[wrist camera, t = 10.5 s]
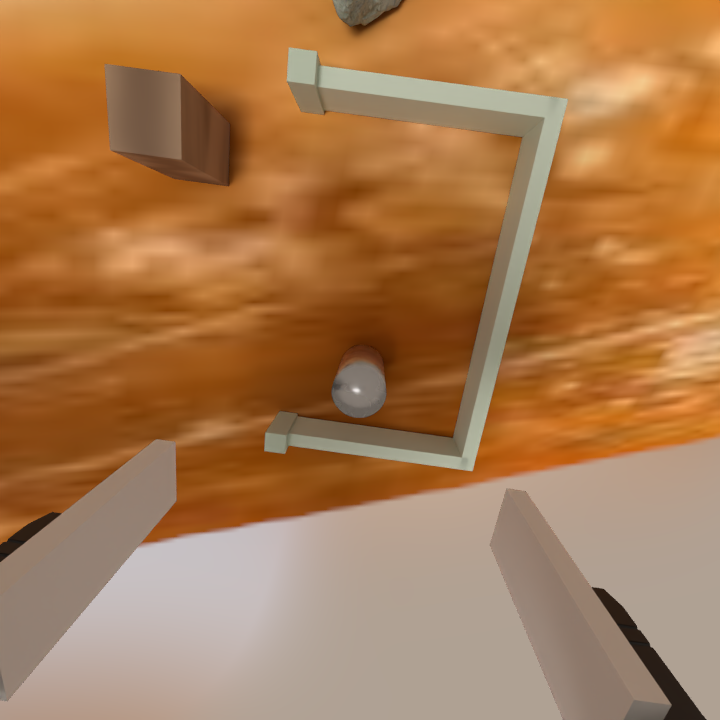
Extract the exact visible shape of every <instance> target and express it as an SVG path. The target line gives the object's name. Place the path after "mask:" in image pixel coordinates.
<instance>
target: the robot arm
mask: <svg viewBox="0 0 720 720" xmlns="http://www.w3.org/2000/svg"><path fill="white" fill-rule="evenodd" d="M175 502H176V444H175V442H173V441H166V440H158V439H156V440H154V441H153V442H152V443H151V444H149V445H148V446H147V447H146V448H144V449H143V450H142V451H141V452H139V453H138V454H137V455H136V456H134V457H133V458H132V459H130V460H129V461H128V462H127V463H125V464H124V465H123V466H122V467H120V468H119V469H118V470H117V471H115V472H114V473H113V474H111V475H110V476H109V477H108V478H106V479H105V480H104V481H103V482H101V483H100V484H99V485H98V486H96V487H95V488H94V489H92V490H91V491H90V492H89V493H87V494H86V495H85V496H84V497H82V498H81V499H80V500H79V501H77V502H76V503H75V504H74V505H72V506H71V507H70V508H68V509H67V510H66V511H65V512H63V513H54V512H51V513H49V514H47V515H45V516H43V517H41V518H39V519H37V520H35V521H33V522H31V523H29V524H27V525H26V526H25V527H23V528H22V529H21V530H19V531H18V532H17V533H15V534H14V535H13V536H11V537H10V538H9V539H8V541H7V542H3V543H2V544H1V545H0V700H2V701H8V700H9V699H10V698H11V696H12V695H13V694H14V693H15V692H16V690H17V689H18V688H19V687H20V686H21V685H22V683H23V682H24V681H25V680H26V679H27V677H28V676H29V675H30V674H31V673H32V672H33V670H34V669H35V668H36V667H37V666H38V664H39V663H40V662H41V661H42V660H43V658H44V657H45V656H46V655H47V654H48V653H49V651H50V650H51V649H52V648H53V647H54V645H55V644H56V643H57V642H58V641H59V639H60V638H61V637H62V636H63V635H64V633H65V632H66V631H67V630H68V629H69V628H70V626H71V625H72V624H73V623H74V622H75V621H76V619H77V618H78V617H79V616H80V614H81V613H82V612H83V611H84V610H85V609H86V607H87V606H88V605H89V604H90V603H91V601H92V600H93V599H94V598H95V597H96V596H97V594H98V593H99V592H100V591H101V590H102V589H103V587H104V586H105V585H106V584H107V583H108V581H109V580H110V579H111V578H112V577H113V576H114V574H115V573H116V572H117V571H118V569H119V568H120V567H121V566H122V565H123V563H124V562H125V561H126V560H127V559H128V558H129V556H130V555H131V554H132V553H133V552H134V551H135V549H136V548H137V547H138V546H139V545H140V543H141V542H142V541H143V540H144V539H145V538H146V536H147V535H148V534H149V533H150V532H151V530H152V529H153V528H154V527H155V526H156V525H157V523H158V522H159V521H160V520H161V519H162V517H163V516H164V515H165V514H166V513H167V511H168V510H169V509H170V508H171V507H172V506H173V504H174V503H175ZM490 547H491V549H492V552H493V554H494V556H495V558H496V561H497V564H498V566H499V568H500V571H501V573H502V575H503V578H504V580H505V582H506V585H507V587H508V589H509V592H510V594H511V597H512V599H513V602H514V604H515V606H516V608H517V611H518V613H519V615H520V618H521V620H522V623H523V625H524V628H525V630H526V633H527V635H528V637H529V640H530V642H531V644H532V647H533V649H534V651H535V654H536V656H537V659H538V661H539V663H540V666H541V668H542V671H543V673H544V675H545V678H546V680H547V682H548V685H549V687H550V690H551V692H552V694H553V697H554V699H555V701H556V704H557V706H558V709H559V711H560V713H561V716H562V718H563V720H706V719H705V717H704V716H703V715H702V714H701V712H700V711H699V710H698V708H697V707H696V706H695V704H694V703H693V701H692V700H691V699H690V697H689V696H688V695H687V693H686V692H685V691H684V689H683V688H682V687H681V685H680V684H679V682H678V681H677V680H676V679H675V677H674V676H673V674H672V673H671V672H670V670H669V669H668V668H667V666H666V665H665V663H664V662H663V661H662V659H661V658H660V657H659V655H658V654H657V653H656V651H655V650H654V649H653V648H651V647H650V643H649V642H648V640H647V639H646V638H645V636H644V635H643V634H642V632H641V631H640V630H638V629H637V625H636V624H635V623H634V621H633V620H632V619H631V617H630V616H629V615H628V613H627V612H626V611H625V609H624V608H623V607H622V606H621V605H620V604H619V603H618V602H617V601H616V600H615V599H614V598H613V597H612V596H610V594H608V593H607V592H606V591H605V590H604V589H600V588H593V587H591V586H590V585H589V583H588V582H587V580H586V579H585V577H584V576H583V574H582V573H581V571H580V570H579V568H578V567H577V566H576V564H575V563H574V561H573V560H572V558H571V557H570V555H569V554H568V552H567V551H566V550H565V548H564V547H563V545H562V544H561V542H560V541H559V539H558V538H557V536H556V535H555V533H554V532H553V530H552V529H551V527H550V526H549V525H548V523H547V522H546V520H545V519H544V517H543V516H542V514H541V513H540V511H539V510H538V508H537V507H536V506H535V504H534V503H533V501H532V500H531V498H530V497H529V495H528V494H527V492H526V491H520V490H513V489H506V492H505V495H504V499H503V502H502V505H501V509H500V512H499V516H498V519H497V522H496V526H495V529H494V532H493V536H492V539H491V543H490Z"/></svg>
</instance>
